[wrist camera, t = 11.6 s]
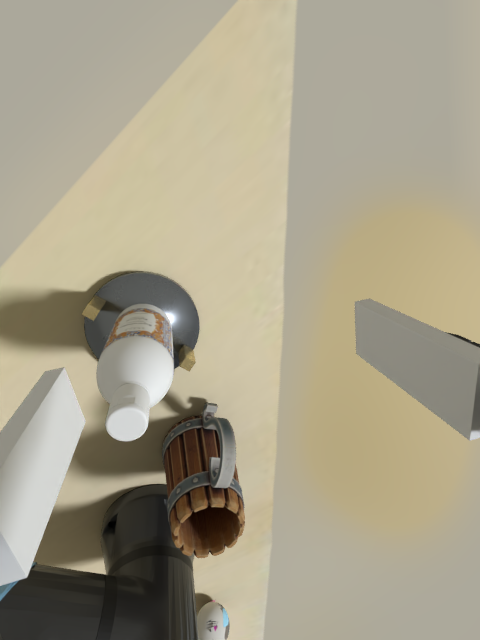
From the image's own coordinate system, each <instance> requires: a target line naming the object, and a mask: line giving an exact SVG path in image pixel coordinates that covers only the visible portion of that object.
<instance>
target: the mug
mask: <svg viewBox="0 0 480 640" xmlns="http://www.w3.org/2000/svg"><path fill="white" fill-rule="evenodd" d="M217 408H218V406H217V404H212V403H205V406H204V409H203V415H202V416H193V417H189V418H186V419H184V420H182V421H181V422H179V423H177V424H176V425H174V426H173V427H172V428H171V429H170V431H169V432H168V435H167V436H166V437H165V440H164V444H163V449H162V457H163V464H164V468H165V473H166V483H167V493H168V505H167V511H168V521H169V525H170V528H171V533H172V539H173V542H174V544H175V545H176V547H177V548H180V550H181V551H182V553H183V554H185V555H187V556H191V555H192V554H193V552H194V555H195V556H196V557H197V558H205V557H207V556H208V554H209V552H210V553H211V554H212V555H214V556H216V555H219V554H221V553H223V552H224V549H225V545H226V546H227V547H228V548H231V547H232V546H234V545H235V544H236V542H237V539H238V537H240V536H241V535H242V533H243V530H244V524H245V521H244V519H245V516H244V502H243V496H242V490H241V487H240V485H239V481H238V475H237V469H236V443H235V436H234V432H233V429H232V427H231V425H230V423H229V421H228V420H227V419H224V418H216V417H214V413H216V411H217Z"/></svg>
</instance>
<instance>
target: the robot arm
mask: <svg viewBox="0 0 480 640" xmlns="http://www.w3.org/2000/svg"><path fill="white" fill-rule="evenodd" d="M355 327H356V354H357V355H359V356H360V357H361V358H362V359H364V360H365V361H366V362H368V363H369V364H370V365H372V366H373V367H374V368H376V369H377V370H378V371H379V372H381V373H382V374H383V375H385V376H386V377H387V378H389V379H390V380H391V381H393V382H394V383H395V384H396V385H398V386H399V387H400V388H402V389H403V390H404V391H406V392H407V393H408V394H409V395H411V396H412V397H413V398H415V399H416V400H418V401H419V402H420V403H422V404H423V405H424V406H425V407H427V408H428V409H429V410H431V411H432V412H433V413H434V414H436V415H437V416H438V417H440V418H441V419H442V420H443V421H445V422H446V423H447V424H449V425H450V426H451V427H453V428H454V429H455V430H457V431H458V432H459V433H460V434H462V435H463V436H464V437H466V438H467V439H468V440H473V439H477V438H480V344H477V343H475V342H471V340H468V339H466V338H463V337H461V336H459V335H455V334H451V333H446V332H443V331H441V330H439V329H437V328H434V327H432V326H429V325H428V324H425V323H423V322H421V321H419V320H416V319H414V318H412V317H410V316H407V315H405V314H403V313H401V312H398V311H396V310H394V309H392V308H389V307H387V306H385V305H383V304H380V303H378V302H376V301H373V300H372V299H366V300H361V301H357V302H355ZM85 422H86V421H85V419H84V416H83V414H82V411H81V408H80V406H79V403H78V401H77V398H76V396H75V393H74V390H73V388H72V385H71V383H70V380H69V378H68V375H67V372H66V370H65V367H63V368H59V369H54V370H50V371H45V372H44V374H43V375H42V376H41V378H40V379H39V380H38V382H37V383H36V385H35V386H34V387H33V389H32V390H31V391H30V393H29V394H28V395H27V397H26V398H25V399H24V401H23V402H22V404H21V405H20V406H19V408H18V409H17V410H16V412H15V413H14V414H13V416H12V417H11V418H10V420H9V421H8V423H7V424H6V425H5V427H4V428H3V429H2V431H1V432H0V640H199V638H198V626H197V614H196V601H195V589H194V578H193V559H194V552H193V554H192V555H191V556H187V555H185V554H183V553H182V551H181V550H180V548H177V547H176V545H175V544H174V542H173V539H172V533H171V528H170V525H169V521H168V511H167V505H168V493H167V485H150V486H144V487H140V488H137V489H135V490H132V491H130V492H128V493H126V494H124V495H123V496H121V497H120V498H119V499H117V500H116V501H115V502H114V503H113V504H112V505H111V507H110V508H109V509H108V511H107V513H106V515H105V517H104V521H103V526H102V531H101V547H102V552H103V558H104V564H105V570H106V575H104V574H97V573H90V572H84V571H77V570H71V569H64V568H58V567H51V566H45V565H38V564H37V562H33V561H34V558H35V555H36V553H37V550H38V547H39V545H40V542H41V539H42V537H43V534H44V531H45V529H46V526H47V523H48V521H49V518H50V515H51V513H52V510H53V507H54V505H55V502H56V499H57V497H58V494H59V491H60V489H61V486H62V483H63V480H64V478H65V475H66V472H67V470H68V467H69V464H70V462H71V459H72V456H73V454H74V451H75V448H76V446H77V443H78V440H79V438H80V435H81V432H82V430H83V427H84V424H85Z"/></svg>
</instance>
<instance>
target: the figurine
mask: <svg viewBox="0 0 480 640" xmlns="http://www.w3.org/2000/svg"><path fill="white" fill-rule="evenodd" d="M197 626H198V638H199V640H227V637H228V634H229V618H228V615H227V612H226V610H225V609H224V608H223V606H222V605H220V604H219V603H217V602H215V600H212V601H210V602H209V603H206V604H205V605H204V606H203V607H202V608H201V609H200V611H199V613H198V615H197Z"/></svg>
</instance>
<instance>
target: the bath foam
mask: <svg viewBox="0 0 480 640" xmlns="http://www.w3.org/2000/svg"><path fill="white" fill-rule="evenodd" d="M96 374H97V384H98V388H99V390H100V393H101V395H102V396H103V398H104V399H105V400H106V401H107V402H108V403H109V404H110V407H109V410H108V414H107V417H106V422H105V427H106V430H107V432H108V434H109V435H110V436H111V437H113V438H114V439H116V440H119V441H132V440H135V439H137V438H139V437H141V436H142V435H143V434H144V432H145V431H146V429H147V427H148V421H149V409H150V408H151V407H153V406H154V405H156V404H157V403H158V402H159V401H160V400H161V399H162V398H163V397H164V396H165V395H166V393H167V392H168V390H169V388H170V385H171V383H172V379H173V375H174V357H173V338H172V326H171V322H170V320H169V318H168V316H167V315H166V314H165V313H164V312H163V311H162V310H161V309H160V308H158V307H156V306H154V305H150V304H136V305H132V306H130V307H128V308H126V309H125V310H124V311H122V312H121V314H120V315H119V316H118V318H117V320H116V322H115V324H114V326H113V328H112V330H111V333H110V335H109V337H108V340H107V342H106V344H105V346H104V349H103V351H102V353H101V355H100V358H99V360H98V364H97V373H96Z"/></svg>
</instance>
